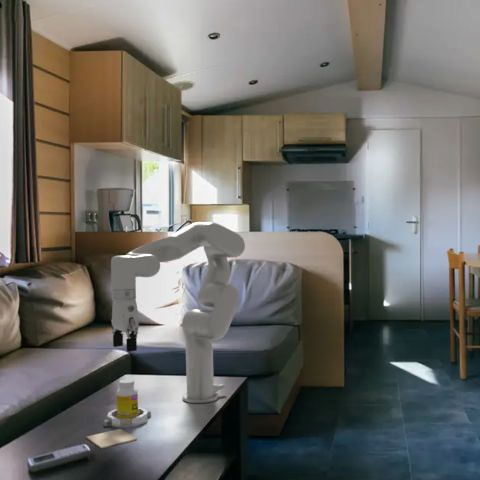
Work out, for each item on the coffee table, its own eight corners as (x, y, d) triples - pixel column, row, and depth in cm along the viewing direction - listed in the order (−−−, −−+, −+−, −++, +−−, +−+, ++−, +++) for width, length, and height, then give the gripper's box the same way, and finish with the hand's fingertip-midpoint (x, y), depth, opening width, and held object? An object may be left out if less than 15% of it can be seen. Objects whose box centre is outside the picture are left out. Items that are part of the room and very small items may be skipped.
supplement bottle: (133, 424, 198) (132, 384, 198) (113, 423, 200) (112, 383, 199) (141, 418, 205) (140, 378, 204) (122, 417, 206) (120, 377, 206)
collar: (140, 411, 212) (140, 404, 212) (158, 420, 202) (158, 412, 202) (97, 421, 203) (96, 413, 203) (113, 431, 193) (113, 423, 193)
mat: (120, 429, 194) (120, 428, 194) (136, 439, 185) (136, 438, 185) (86, 437, 187) (86, 436, 187) (101, 448, 178) (101, 447, 178)
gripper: (147, 296, 196) (148, 351, 196) (122, 291, 210) (123, 343, 210) (124, 298, 191) (125, 354, 192) (101, 293, 205) (102, 346, 206)
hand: (124, 348), depth 201 cm, fingers open, 9 cm apart
